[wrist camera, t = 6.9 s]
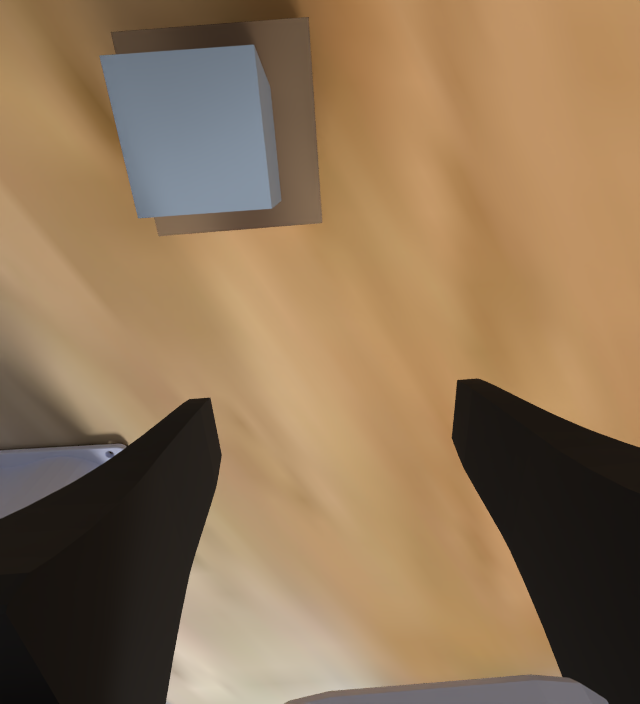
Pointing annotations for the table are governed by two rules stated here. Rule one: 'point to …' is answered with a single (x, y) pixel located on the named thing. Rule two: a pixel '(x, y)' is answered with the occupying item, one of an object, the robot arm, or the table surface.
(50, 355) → the table surface
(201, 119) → the blue block
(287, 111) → the walnut pedestal
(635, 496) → the robot arm
